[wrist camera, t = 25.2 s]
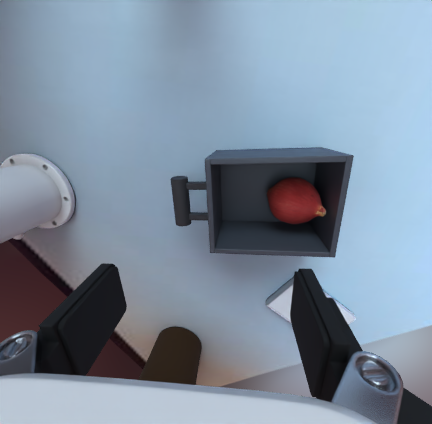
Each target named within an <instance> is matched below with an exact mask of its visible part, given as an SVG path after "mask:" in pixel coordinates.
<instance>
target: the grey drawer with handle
mask: <svg viewBox="0 0 432 424" xmlns="http://www.w3.org/2000/svg"><path fill="white" fill-rule="evenodd" d="M352 161H353V155H349V154H345V153H341V152H338V151H334V150H330V149H326V148H322V147H318V148H284V149H249V150H216V151H215V152H214V153H212V154H211V155H210V156H208V157H207V158H206V159H205V172H206V182H188V178H187V177H186V176H176V177H172V178H171V185H172V194H173V203H174V211H175V220H176V225H178V226H187V225H190V224H191V220H208V225H209V242H210V253H226V254H255V255H283V256H312V257H335V253H336V248H337V242H338V237H339V232H340V226H341V221H342V215H343V210H344V205H345V199H346V194H347V188H348V183H349V178H350V172H351V167H352ZM291 177H297V178H301V179H304V180H306V181H308V182H309V183H311V184H312V185H313V186H314V187H315V188H316V190H317V191H318V193H319V195H320V198H321V203H322V206H323V207H324V208H325V210H326V214H325V215H324V216H323V217H322V216H317V217H315V218H313V219H312V220H310V221H307V222H304V223H301V224H289V223H286V222H283V221H280V220H278V219H277V218H276V217H274V215H273V214H272V212H271V210H270V206H269V202H268V198H267V191H268V190H269V189H270V188H272V187H273V186H274V185H275V184H277V183H278V182H279V181H281V180H282V179H286V178H291ZM189 190H207V207H208V213H198V212H190V200H189Z"/></svg>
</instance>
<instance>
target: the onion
mask: <svg viewBox="0 0 432 424" xmlns="http://www.w3.org/2000/svg"><path fill="white" fill-rule="evenodd" d="M267 198H268V202H269V206H270V210H271V212H272V214H273V215H274V217H276V218H277V219H278V220H280V221H283V222H286V223H289V224H301V223H304V222H307V221H310V220H312V219H313V218H315V217H317V216H322V217H323V216H324V215H325V214H326V210H325V208H324V207H323V206H322V203H321V198H320V195H319V193H318V191H317V190H316V188H315V187H314V186H313V185H312V184H311V183H309V182H308V181H306V180H304V179H301V178H297V177H291V178H286V179H282V180H281V181H279V182H278V183H277V184H275V185H274V186H273V187H272V188H270V189H269V190H268V191H267Z"/></svg>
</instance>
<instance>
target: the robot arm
mask: <svg viewBox="0 0 432 424" xmlns="http://www.w3.org/2000/svg"><path fill="white" fill-rule="evenodd" d="M74 208H75V198H74V193H73V190H72V187H71V185H70V183H69V181H68V179H67V178H66V176H65V175H64V174H63V172H62V171H61V170H60V169H59V168H58V167H57V166H56V165H54V164H53V163H52V162H51V161H49V160H47V159H45V158H44V157H41V156H38V155H35V154H29V153H27V154H17V155H13V156H10V157H8V158H7V159H6V160H5V161H4V162H3V163H2V165H1V167H0V243H3V242H5V241H7V240H9V239H11V238H14V239H21V238H22V237H23V235H24V233H25V232H26V231H28V230H30V229H32V228H34V227H39V228H45V229H51V228H56V227H58V226H60V225H63V224H64V223H66V222H67V221H68V220H69V219H70V218H71V216H72V214H73V212H74ZM126 307H127V306H126V301H125V297H124V292H123V288H122V284H121V280H120V276H119V272H118V268H117V267H115V265H114V264H101V265H100V266H99V267H98V268H97V269H96V270H95V271H94V272H93V273H92V274H91V275H90V276H89V277H88V278H87V279H86V280H85V281H84V282H83V283H82V284H81V285H79V286H78V287H77V288H76V289H75V290H74V291H73V292H72V293H71V294H70V295H69V296H68V297H67V298H66V299H65V300H64V301H63V302H62V303H61V304H60V305H59V306H58V307H57V308H56V309H55V310H54V311H53V312H52V313H51V314H50V315H49V316H48V317H47V318H46V319H45V320H44V321H43V322H42V323H41V324H40V325H39V327H40V330H39V331H38V332H37V333H36V332H35V331H31V330H28V331H23V332H20V333H17V334H15V335H13V336H10V337H9V338H7V339H6V340H4V341H3V342H2V343H0V424H432V406H430V405H429V404H427V403H426V402H424V401H423V400H421V399H420V398H418V397H416V396H415V395H414V394H412V393H411V392H409V391H408V390H406V389H405V388H403V381H402V379H401V377H400V375H399V373H398V372H397V371H396V369H395V368H394V367H393V366H392V365H391V364H390V363H389V362H387V361H386V360H384V359H383V358H381V357H380V356H377V355H376V354H373V353H370V352H366V351H363V350H362V349H361V347H360V345H359V343H358V341H357V340H356V338H355V336H354V334H353V333H352V331H351V329H350V327H349V325H348V324H347V322H346V320H345V318H344V316H343V315H342V313H341V311H340V309H339V308H338V306H337V304H336V302H335V301H334V299H333V298H328V297H326V295H325V293H324V292H323V290H322V288H321V286H320V284H319V282H318V280H317V278H316V276H315V274H314V272H313V271H312V269H299V270H298V272H295V274H294V282H293V291H292V300H291V309H290V319H291V323H292V327H293V330H294V334H295V338H296V341H297V345H298V349H299V352H300V356H301V360H302V363H303V367H304V370H305V374H306V378H307V382H308V385H309V389H310V392H311V395H312V397H316V398H317V399H316V398H310V397H304V396H298V395H292V394H282V393H273V392H264V391H255V390H244V389H234V388H222V387H212V386H201V385H189V384H178V383H166V382H154V381H142V380H130V379H117V378H104V377H92V376H86V374H87V373H88V371H89V370H90V368H91V366H92V365H93V363H94V362H95V360H96V358H97V357H98V355H99V354H100V352H101V350H102V349H103V347H104V345H105V344H106V342H107V341H108V339H109V337H110V336H111V334H112V333H113V331H114V329H115V328H116V326H117V324H118V323H119V321H120V320H121V318H122V316H123V315H124V313H125V311H126Z"/></svg>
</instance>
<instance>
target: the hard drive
mask: <svg viewBox="0 0 432 424" xmlns="http://www.w3.org/2000/svg"><path fill="white" fill-rule="evenodd" d="M293 282H294V277H293V278H292V279H290V280H289V281H288V282H287V283H285V284H284V285H283V286H282V287H281V288H280V289H278V290H277V291H276V292H275V293H274V294H272V295H271V296H270V297H269V298H268V299H267V300H266V306H267V307H269V308H270V309H272V310H273V311H275V312H276V313H277V314H279V315H280V316H282V317H283V318H285V319H286V320H287V321H289V322H290V323H291V319H290V309H291V300H292V291H293ZM323 292H324V291H323ZM324 293H325V295H326V297H328V298H332V297H331V296H330V295H328V294H327V293H326V292H324ZM333 299H334V298H333ZM334 301H335V302H336V304H337V306H338V308H339V309H340V311H341V313H342V315H343V316H344V318H345V320H346V322H347V324H348V325H349V324H350V323H352V322H353V321H354V320H355V319H356V317H355V316H354V314H353V313H352V312H351V311H349V310H348V309H347V308H346V307H344V306H343V305H342V304H340V303H339V302H338V301H336V300H335V299H334Z"/></svg>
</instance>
